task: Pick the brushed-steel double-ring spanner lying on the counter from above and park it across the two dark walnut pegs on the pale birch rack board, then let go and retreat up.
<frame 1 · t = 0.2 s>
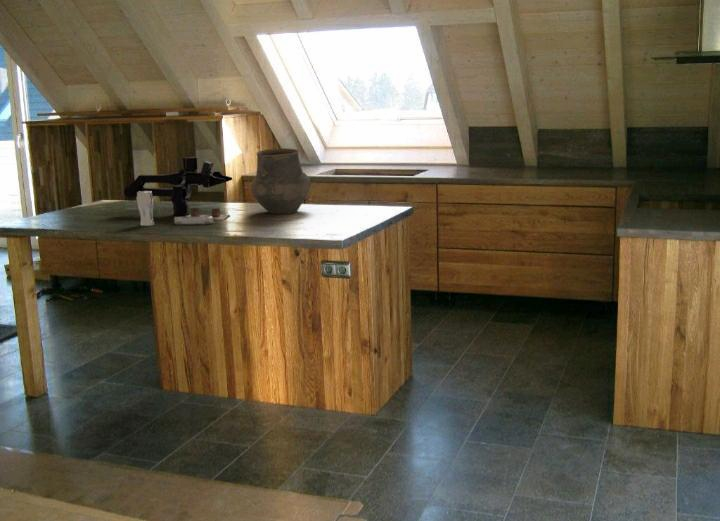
hand: (229, 179, 394), 17 cm above the counter, tool horizontal, fingers open, 9 cm apart
steel spanner: (194, 223, 374), on the counter
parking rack: (205, 218, 387), on the counter
ceramic pot: (282, 212, 399), on the counter
beer glass: (147, 225, 375), on the counter
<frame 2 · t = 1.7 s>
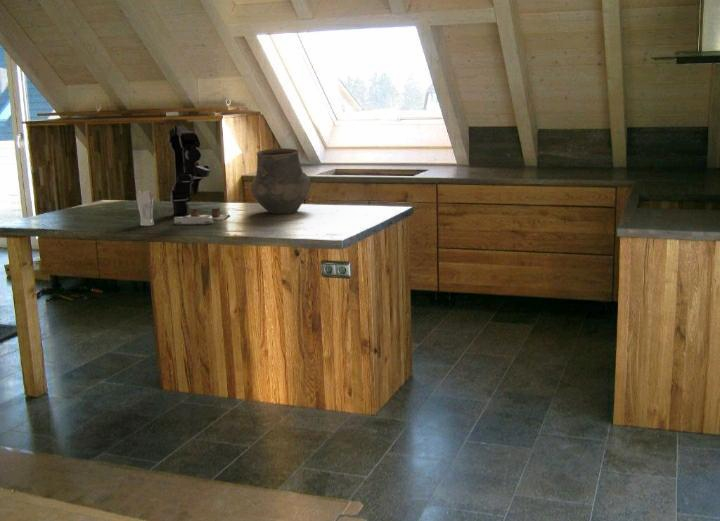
hand: (192, 195, 372), 13 cm above the counter, tool pointing down, fingers open, 9 cm apart
nothing on the counter moved.
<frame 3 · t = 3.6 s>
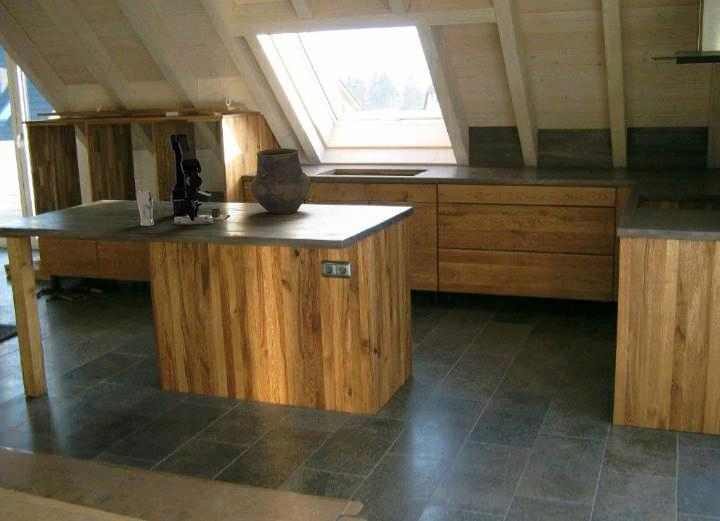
hand: (193, 220, 374), 2 cm above the counter, tool pointing down, fingers closed on steel spanner, 3 cm apart
steel spanner: (194, 223, 374), on the counter, touching gripper
everything else where it was.
when the fingers open (8 cm above the counter, at t = 7.9 s): steel spanner drops 1 cm, resting on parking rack.
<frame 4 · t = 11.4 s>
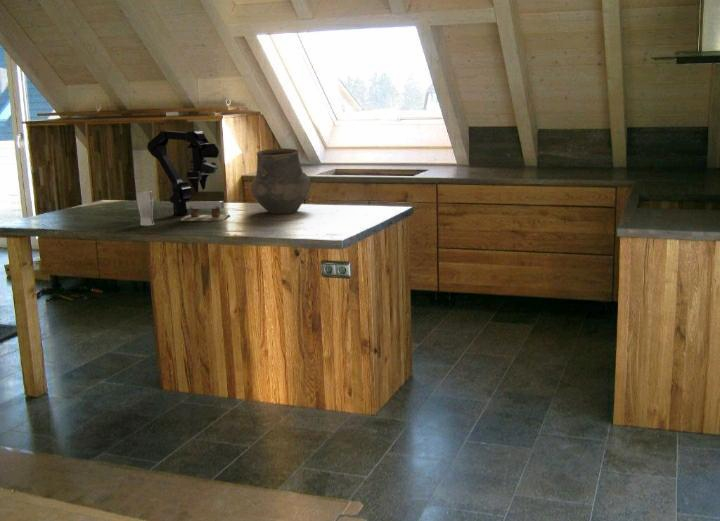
hand: (200, 190, 394), 12 cm above the counter, tool pointing down, fingers open, 9 cm apart
steel spanner: (205, 208, 386), point 5 cm above the counter, touching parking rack
everything else where it was.
at the end: steel spanner 0.0 cm off-centre on the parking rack, point 5.0 cm above the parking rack's base; steel spanner tilted 0°; the gripper is holding nothing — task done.
